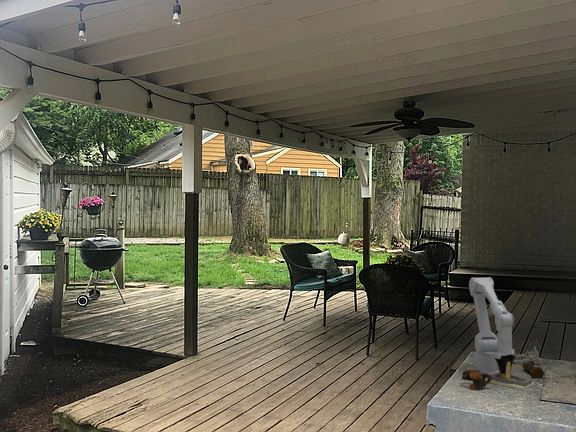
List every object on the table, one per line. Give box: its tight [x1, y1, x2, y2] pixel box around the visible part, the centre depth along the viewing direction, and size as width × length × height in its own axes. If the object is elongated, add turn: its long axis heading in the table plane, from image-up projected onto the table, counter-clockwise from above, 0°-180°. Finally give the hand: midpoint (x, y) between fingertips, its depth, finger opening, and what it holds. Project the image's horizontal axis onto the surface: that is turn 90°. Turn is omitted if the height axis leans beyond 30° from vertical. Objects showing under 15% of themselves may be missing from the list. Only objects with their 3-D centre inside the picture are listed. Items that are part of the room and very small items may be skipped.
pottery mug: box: [461, 369, 492, 391], centre depth 228 cm, size 12×10×8 cm
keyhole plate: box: [489, 372, 535, 391], centre depth 233 cm, size 15×11×2 cm
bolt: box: [522, 362, 545, 379], centre depth 248 cm, size 6×5×15 cm
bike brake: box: [512, 346, 542, 364], centre depth 271 cm, size 14×7×20 cm
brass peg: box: [501, 361, 512, 380], centre depth 234 cm, size 4×4×8 cm
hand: (505, 372), depth 235 cm, fingers closed on brass peg, 4 cm apart
